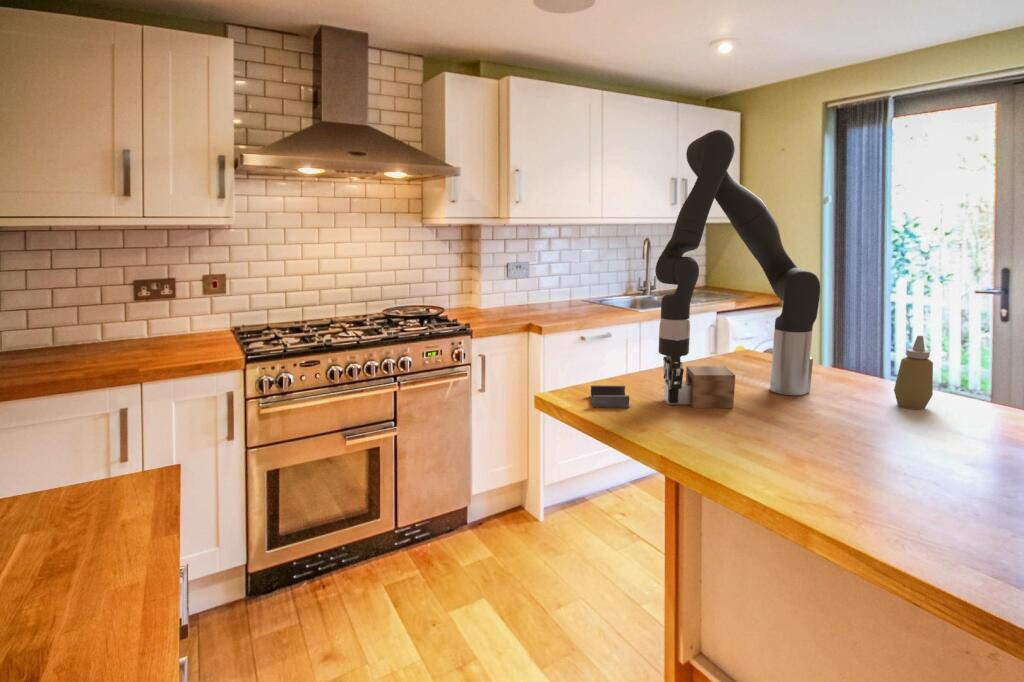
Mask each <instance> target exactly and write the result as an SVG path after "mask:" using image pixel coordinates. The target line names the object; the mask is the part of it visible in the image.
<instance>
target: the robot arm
mask: <svg viewBox="0 0 1024 682" xmlns="http://www.w3.org/2000/svg"><path fill="white" fill-rule="evenodd" d="M735 153H736V144H735V141H734V138H733V136H732V135H731V134H730V133H729V132H728V131H726V130H724V129H715V130H712V131H709V132H707V133H705V134H704V135H702V136H700V137H698V138H696V139H695V140H693V141H692V142H691V143H690V144H689V145H688V147H687V149H686V153H685V155H686V161H687V164H688V165H689V167H690V169H691V171H692V172H693V173H694V174H695V176H696V177H697V178H696V180H695V182H694V185H693V186H692V188H691V191H690V192H689V194H688V196H687V198H685V201H684V202H683V204H682V206H681V207H680V211H679V213H678V215H677V218H676V221H675V224H674V227H673V228H674V229H673V232H672V235H671V238H670V239H669V241H668V242H667V244H666V245H665V248H664V249H663V250H662V252H661V253H660V256H659V257H658V259H657V261H656V264H655V276H656V278H657V281H659V283H660V284H661V283H662V284H664V285H677V287H676V290H675V291H674V293H669V294H665V295H663V296H662V297H661V301H660V302H661V303H660V305H661V306H660V322H659V327H658V328H659V329H658V331H659V332H658V353H659V354H660V355H662V356H663V357H662V360H663V379H664V382H665V381H669V402H670V403H678V392H679V389H681V388H682V381H683V378H684V377H683V376H684V371H685V369H684V368H683V362H682V360H681V357H685V356H688V355H689V354H690V340H691V339H690V337H691V335H690V334H691V324H690V314H691V312H690V311H691V300H692V299H693V295H694V294H693V293H694V291H695V288H696V286H697V282H698V279H699V275H700V268H699V264H698V262H697V260H696V259H695V258H693V257H691V256H684V254H685V253H689V252H691V251H695V250H697V249H698V248H699V247H700V244H701V240H702V237H703V234H704V231H705V227H706V223H707V220H708V216H709V214H710V211H711V208H712V205H713V202H714V200H715V201H716V203H717V204H718V206H719V207H720V208H721V210H722V211H723V213H724V214H725V216H726V218H728V220H729V222H730V224H731V226H732V227H733V228H734V230H735V232H736V233H737V234H738V236H739V238H740V239H741V240H742V242H743V244H745V246H746V248H747V249H748V250H749V252H750V253H751V255H752V256H753V257H754V258H755V260H756V261H757V263H758V264H759V265H760V267H761V269H762V270H763V272H764V275H765V276H766V279H767V281H768V282H769V285H770V288H771V289H772V290H773V293H774V294H775V296H776V297H777V298H779V300H782V302H783V303H782V308H781V309H782V310H781V312H780V315H779V316H777V317H775V320H774V331H773V345H772V355H771V356H772V357H771V358H772V360H771V369H770V370H771V371H770V372H771V373H770V384H769V389H770V391H771V392H773V393H774V394H775V393H776V394H780V395H783V396H784V395H785V396H804V395H806V394H808V393H811V386H812V375H813V365H814V364H813V363H814V359H813V357H811V349H812V338H813V329H814V328H813V327H814V324H815V322H816V321H817V317H818V311H819V306H820V305H819V304H820V297H821V281H820V279H819V278H818V275H816V274H815V273H814V272H813V271H810V270H807V269H802V268H799V267H798V266H797V264H795V262H794V261H793V260H792V259H791V257H790V256H789V254H788V253H787V251H786V249H785V247H784V245H783V242H782V238H781V234H780V230H779V227H778V224H777V221H776V220H775V218H774V216H773V214H772V212H770V209H769V208H768V206H767V205H766V204H765V202H764V201H763V200H762V199H761V198H760V197H759V196H758V195H756V194H755V193H753V191H751V190H749V189H748V188H747V187H745V186H744V185H742V184H741V183H739V182H738V181H737V180H736V179H734V177H733V176H732V175H731V173H730V172H729V171H728V169H729V167H730V165H731V163H732V160H733V158H734V156H735ZM674 382H677V384H674Z"/></svg>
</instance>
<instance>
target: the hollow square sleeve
mask: <svg viewBox="0 0 1024 682" xmlns="http://www.w3.org/2000/svg"><path fill="white" fill-rule="evenodd" d="M685 381H692V396H691V404H690V406H691V407H692V408H693V409H701V408H702V409H734V402H735V389H736V388H735V386H736V374H734V372H733V371H731V370H730V369H729V368H728V367H727V366H725V365H724V366H723V365H721V366H719V365H718V366H717V365H714V366H713V365H710V366H709V365H708V366H707V365H706V366H704V365H701V366H699V365H698V366H696V365H691V366H689V365H687V366H686V371H685Z"/></svg>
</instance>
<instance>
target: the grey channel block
mask: <svg viewBox="0 0 1024 682" xmlns="http://www.w3.org/2000/svg"><path fill="white" fill-rule="evenodd" d="M590 398H591V404H592V408H593V407H601V408H600V409H629V408H630V395H626V386H625V385H599V384H598V385H595V384H593V385H590ZM602 407H604V408H602Z"/></svg>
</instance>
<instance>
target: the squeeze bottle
mask: <svg viewBox="0 0 1024 682" xmlns="http://www.w3.org/2000/svg"><path fill="white" fill-rule="evenodd" d="M905 355H906V356H905V357H903V358H901V359H900V360H901V361H900V365H899V368H898V372H897V376H896V381H895V385H894V387H893V388H894V389H893V392H894V395H895V399H896V404H897V405H898V406H899V407H901V408H905V409H909V410H925V409H926V407H927V405H928V404H929V402H930V401H931V399H932V397H933V393H934V392H933V390H934V387H933V386H934V363H933V361H932V360H931V359H929V358H930V351H929V350H927V349H926V347H925V341H924V336H923V335H917V336H916V338H915V341H914V343H913V346H912V348H908V349H907V350H906V354H905Z"/></svg>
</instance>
